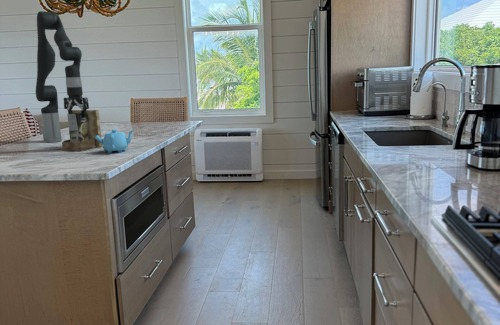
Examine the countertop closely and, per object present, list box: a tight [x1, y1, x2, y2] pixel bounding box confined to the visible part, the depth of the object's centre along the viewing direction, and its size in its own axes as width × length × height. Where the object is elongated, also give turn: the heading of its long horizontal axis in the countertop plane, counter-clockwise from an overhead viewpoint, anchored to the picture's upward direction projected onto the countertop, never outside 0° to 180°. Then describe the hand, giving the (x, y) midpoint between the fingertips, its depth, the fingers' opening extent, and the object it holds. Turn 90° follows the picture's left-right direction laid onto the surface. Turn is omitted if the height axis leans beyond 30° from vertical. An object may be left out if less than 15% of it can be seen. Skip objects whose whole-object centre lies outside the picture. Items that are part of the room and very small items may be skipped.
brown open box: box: [61, 138, 98, 152], centre depth 233 cm, size 12×12×5 cm
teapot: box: [95, 129, 135, 154], centre depth 221 cm, size 15×14×11 cm
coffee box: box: [67, 112, 90, 143], centre depth 232 cm, size 9×6×16 cm
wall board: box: [72, 109, 103, 148], centre depth 237 cm, size 16×2×20 cm, turn 69°
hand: (77, 117), depth 230 cm, fingers open, 8 cm apart
